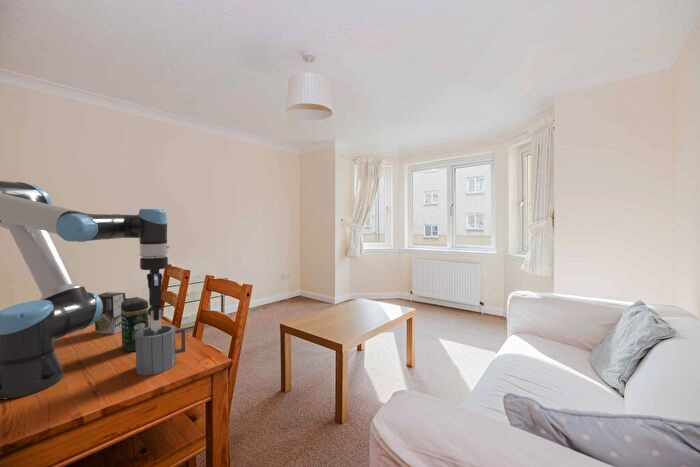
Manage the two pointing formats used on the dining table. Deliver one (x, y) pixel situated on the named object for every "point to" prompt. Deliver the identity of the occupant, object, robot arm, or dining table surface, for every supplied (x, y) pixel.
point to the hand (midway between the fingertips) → (155, 327)
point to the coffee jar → (133, 320)
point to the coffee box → (110, 313)
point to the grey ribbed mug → (157, 349)
